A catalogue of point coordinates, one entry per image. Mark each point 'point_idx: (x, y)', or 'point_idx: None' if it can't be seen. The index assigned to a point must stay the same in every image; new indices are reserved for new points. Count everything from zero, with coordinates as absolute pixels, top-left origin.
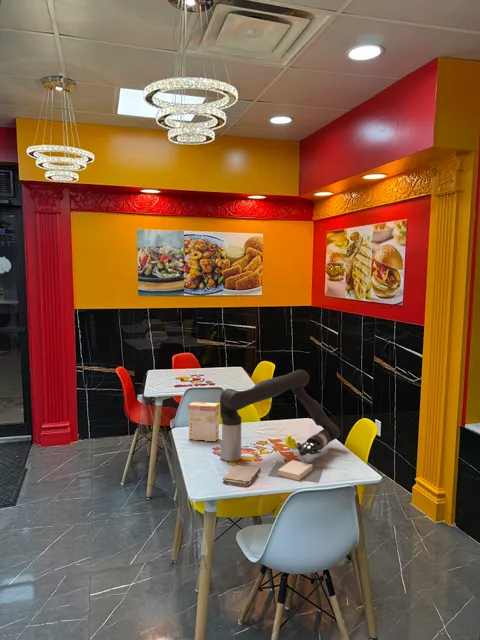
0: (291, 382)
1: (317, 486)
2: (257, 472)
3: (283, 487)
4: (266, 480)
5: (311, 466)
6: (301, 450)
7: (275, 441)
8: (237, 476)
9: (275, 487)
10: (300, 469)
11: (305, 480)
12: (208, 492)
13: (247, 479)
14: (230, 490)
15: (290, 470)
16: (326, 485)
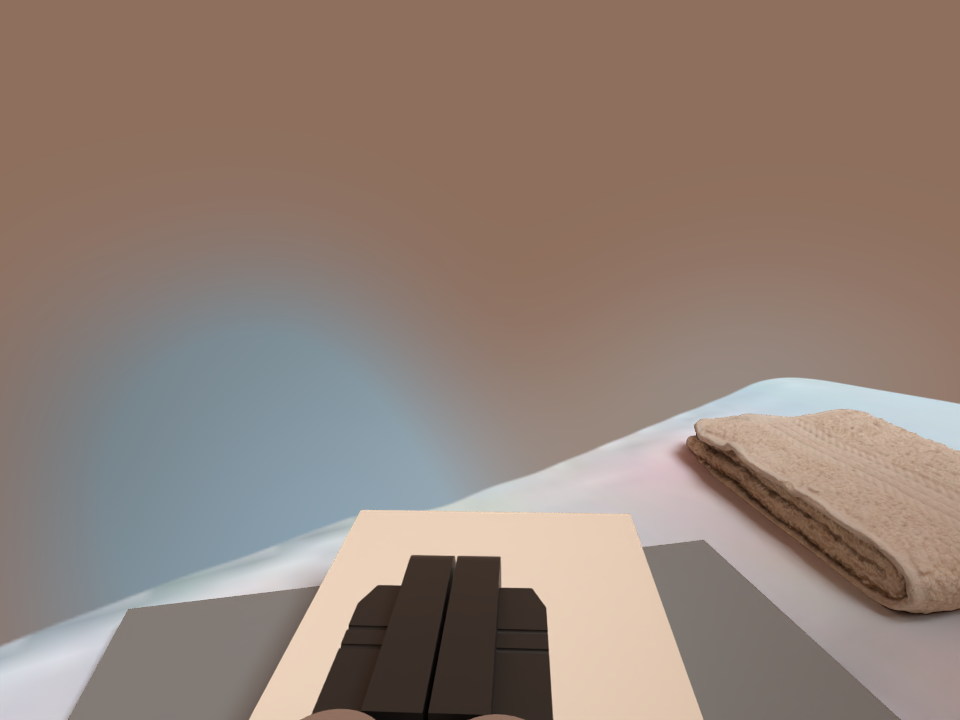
0: None
1: (151, 598)
2: (852, 555)
3: (465, 503)
4: (663, 528)
5: None
6: (466, 569)
7: None
8: (821, 434)
9: (520, 489)
10: None
11: (291, 596)
12: (777, 392)
13: (722, 430)
14: (719, 416)
15: (496, 546)
16: (24, 647)
